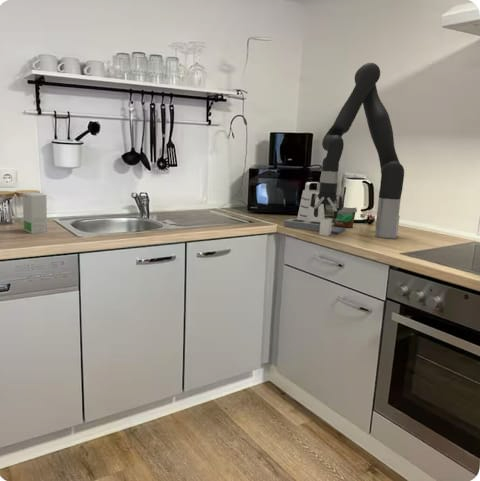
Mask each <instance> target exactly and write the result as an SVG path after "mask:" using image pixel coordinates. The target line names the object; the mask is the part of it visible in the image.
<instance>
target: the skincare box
mask: <svg viewBox="0 0 480 481" xmlns="http://www.w3.org/2000/svg"><path fill="white" fill-rule="evenodd" d="M47 209H48V208H47V195H46V194H43V193H41V192H36V191H35V192H33V191H32V192H22V213H23V214H22V215H23V216H22V218H23V231H25V232H27V233H30V234H32V235H33V234H39V233H40V234H41V233H47V232H48V223H47V222H48V216H47Z"/></svg>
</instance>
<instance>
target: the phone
mask: <svg viewBox="0 0 480 481" xmlns="http://www.w3.org/2000/svg"><path fill="white" fill-rule="evenodd" d="M346 229H347V228H339V227H335V226H331V234H330V235H340V234H341V233H344V232H345V231H346Z"/></svg>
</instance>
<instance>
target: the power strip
mask: <svg viewBox="0 0 480 481" xmlns="http://www.w3.org/2000/svg"><path fill="white" fill-rule="evenodd" d="M283 227H284V228H289V229H297V230H306V231H312V232H314V231H315V232H320V222H318V221H309V220H301V219H297V218H289V219H285V220H284V221H283Z"/></svg>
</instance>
